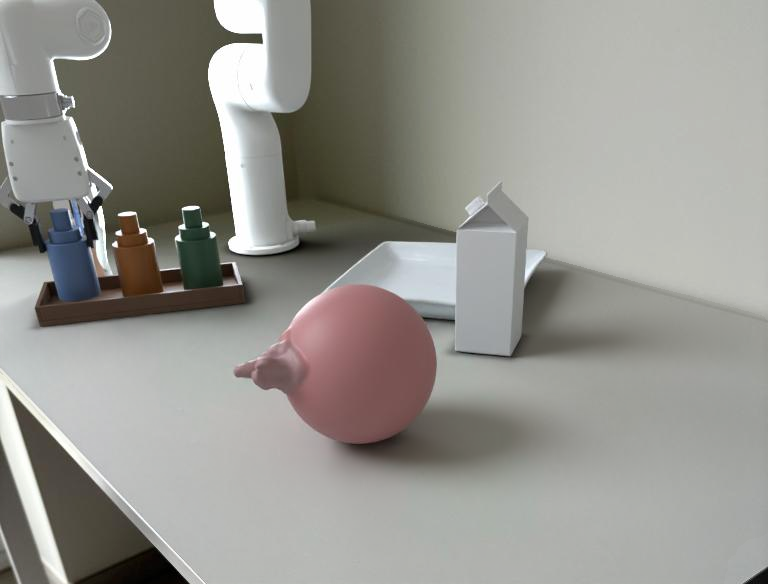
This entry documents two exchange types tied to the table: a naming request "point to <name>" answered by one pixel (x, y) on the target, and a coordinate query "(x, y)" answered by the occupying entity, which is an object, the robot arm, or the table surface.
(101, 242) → the beer glass
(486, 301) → the milk carton
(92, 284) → the blue bottle
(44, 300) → the tray
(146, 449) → the table surface
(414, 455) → the table surface
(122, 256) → the amber bottle
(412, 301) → the square plate
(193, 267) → the green bottle
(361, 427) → the balloon
